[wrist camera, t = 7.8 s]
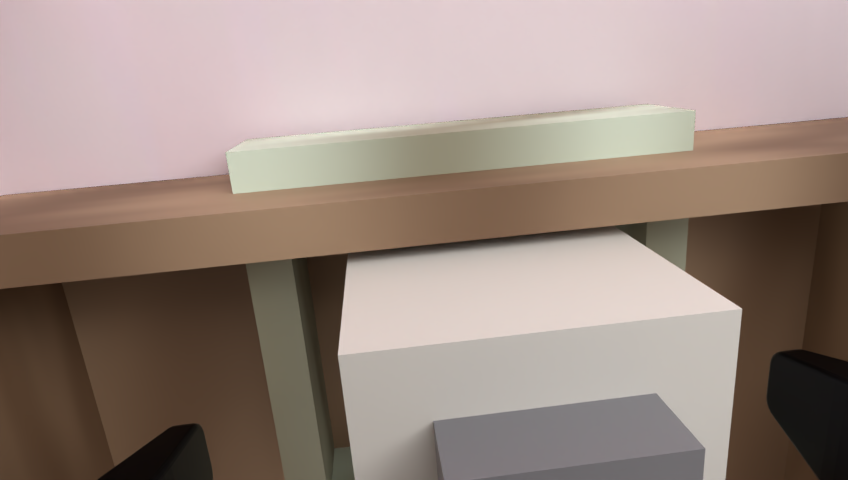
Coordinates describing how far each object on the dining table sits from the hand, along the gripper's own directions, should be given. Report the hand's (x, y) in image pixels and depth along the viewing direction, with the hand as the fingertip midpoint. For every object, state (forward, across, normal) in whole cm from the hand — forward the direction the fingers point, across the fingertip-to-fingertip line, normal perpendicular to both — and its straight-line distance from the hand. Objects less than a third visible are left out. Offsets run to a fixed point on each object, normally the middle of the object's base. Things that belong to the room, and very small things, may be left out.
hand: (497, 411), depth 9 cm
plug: (+4, 0, 0) cm, 4 cm away
